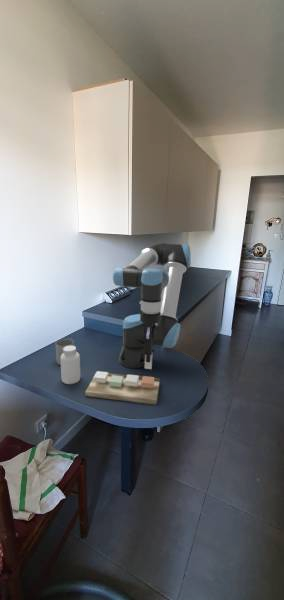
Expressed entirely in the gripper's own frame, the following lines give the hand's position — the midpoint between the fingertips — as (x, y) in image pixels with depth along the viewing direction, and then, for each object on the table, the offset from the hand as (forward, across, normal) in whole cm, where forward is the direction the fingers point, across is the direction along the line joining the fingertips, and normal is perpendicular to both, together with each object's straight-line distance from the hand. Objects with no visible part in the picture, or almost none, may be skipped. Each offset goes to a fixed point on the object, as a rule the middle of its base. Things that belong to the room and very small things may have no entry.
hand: (148, 367), depth 108 cm
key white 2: (+8, 0, -6) cm, 10 cm away
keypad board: (+11, 0, -10) cm, 15 cm away
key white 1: (+8, 0, -19) cm, 21 cm away
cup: (+11, -18, -43) cm, 48 cm away
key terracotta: (+8, 0, 0) cm, 8 cm away
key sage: (+9, 0, -13) cm, 16 cm away
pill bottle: (+12, -3, -34) cm, 36 cm away
